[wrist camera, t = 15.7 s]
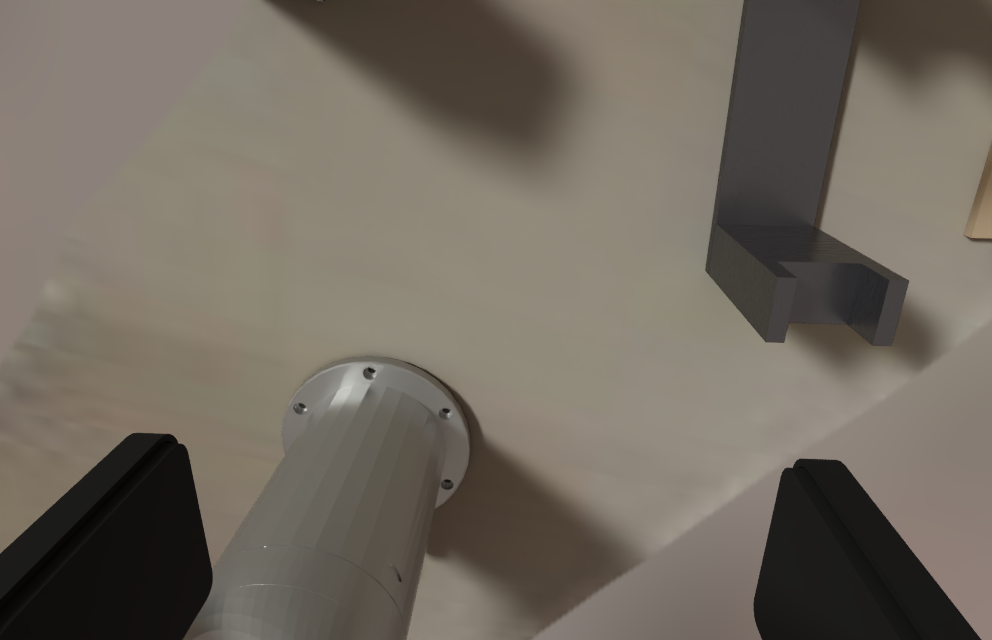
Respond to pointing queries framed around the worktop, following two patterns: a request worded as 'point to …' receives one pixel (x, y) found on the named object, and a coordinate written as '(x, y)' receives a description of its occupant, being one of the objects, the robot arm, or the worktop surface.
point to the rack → (791, 180)
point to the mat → (982, 205)
